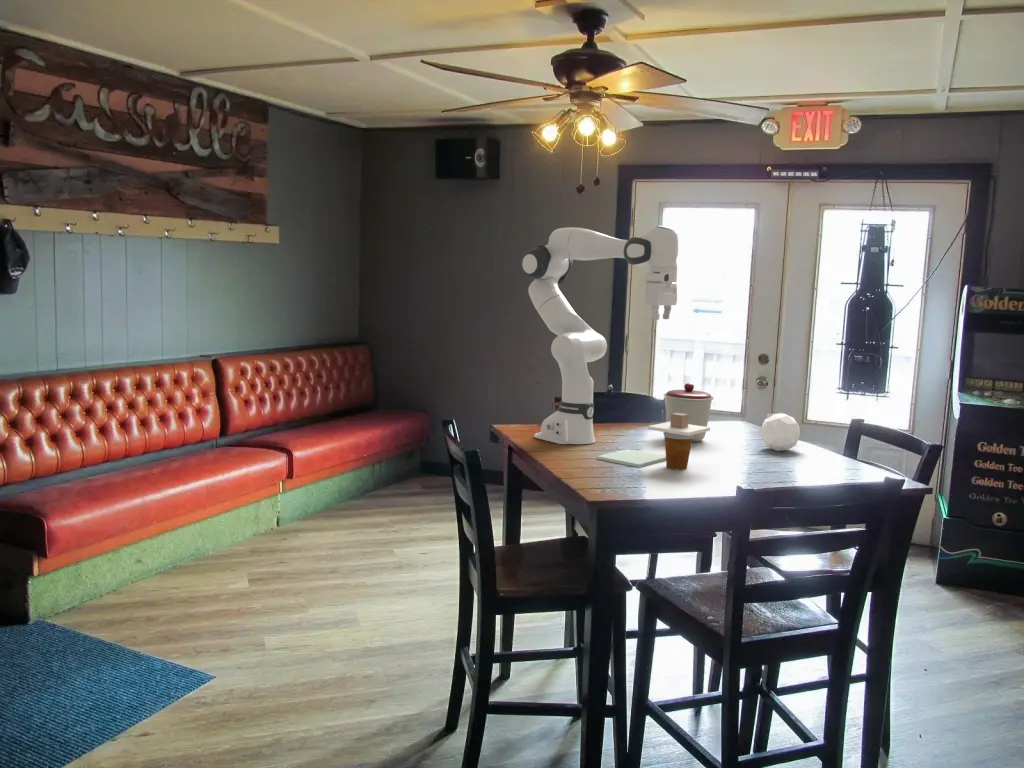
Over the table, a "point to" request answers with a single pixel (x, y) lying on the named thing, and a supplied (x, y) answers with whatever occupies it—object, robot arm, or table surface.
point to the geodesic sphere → (780, 432)
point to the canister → (689, 406)
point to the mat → (632, 458)
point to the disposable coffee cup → (677, 450)
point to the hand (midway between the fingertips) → (661, 319)
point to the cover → (679, 426)
